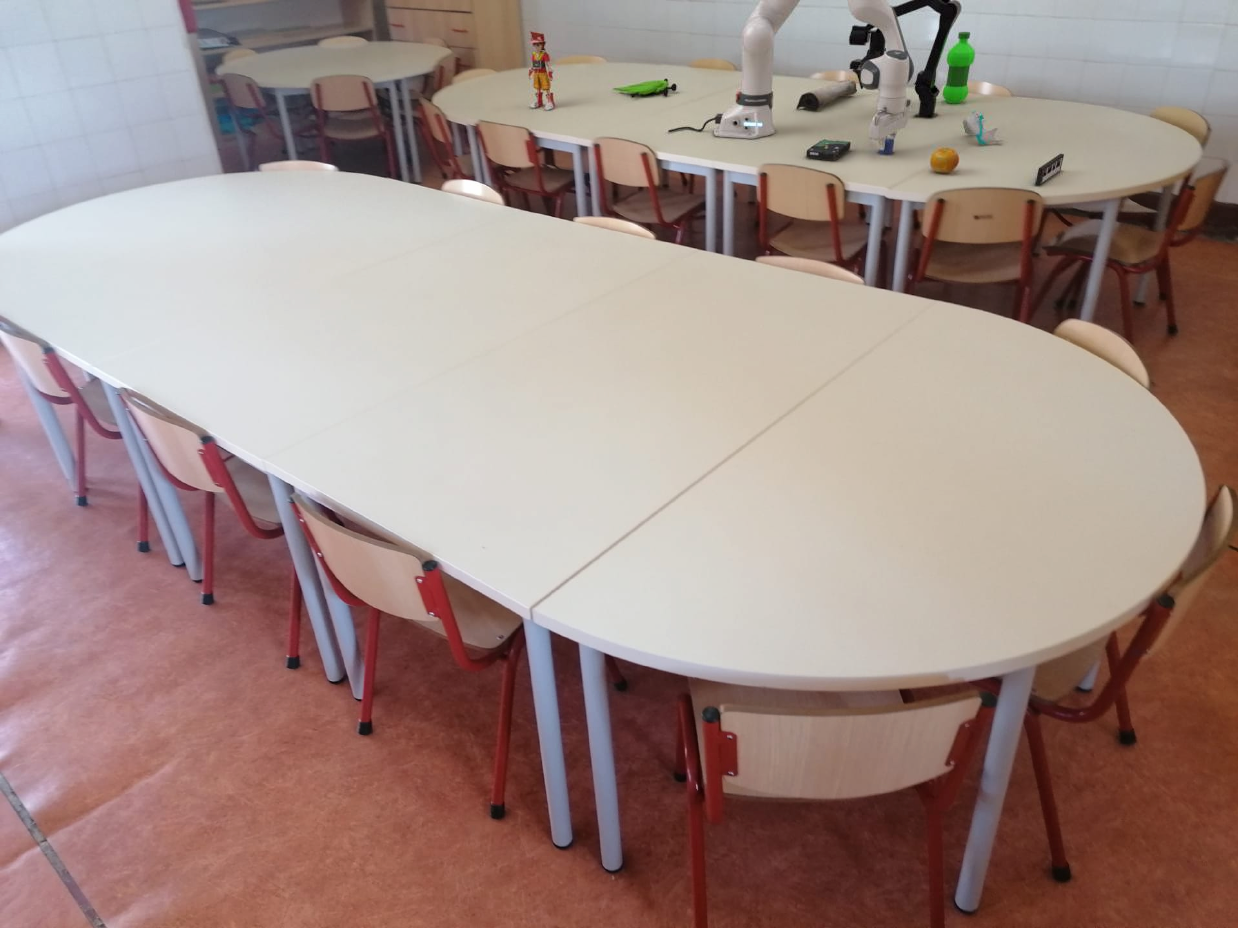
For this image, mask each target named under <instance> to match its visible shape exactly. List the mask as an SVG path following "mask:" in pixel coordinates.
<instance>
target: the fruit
mask: <svg viewBox="0 0 1238 928" xmlns="http://www.w3.org/2000/svg"><path fill="white" fill-rule="evenodd" d="M959 163H960V156H959V154H958V152H957V151H956V150H955V149H953V148H951V147H942V148H938V149H936V150H934V151H933V153H932V154H931V155H930V159H929V166H930V168H931V169H932V170H933V171H934V172H936V173H939V174H940V173H943V174H944V173H945V174H946V173H951V172H953V171H954V170H956V168H957V167H958V165H959Z"/></svg>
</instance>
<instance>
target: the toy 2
mask: <svg viewBox="0 0 1238 928" xmlns="http://www.w3.org/2000/svg"><path fill="white" fill-rule="evenodd" d="M669 85H670V83H669V79H668V78H664V79H663V80H649V81H644V82H640V83H634V84H629V85H627V86H621V87H613V88H612V89H613V90H616V91H619V92H623V93H627V94H628V93H629V94H631V95H630V96H631V98H632V99H634V98H636V96H637V95H650V94H652V93H654V94H658V93H662V95H663V96H665V97H667V96H668V95H669V90H671V91H672V92H676V91H677V84H676V83H672V84H671V86H669Z"/></svg>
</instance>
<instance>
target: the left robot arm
mask: <svg viewBox="0 0 1238 928" xmlns="http://www.w3.org/2000/svg"><path fill="white" fill-rule="evenodd" d="M800 1H801V0H760V1H759V3H758V4H757V5H756V7H755V9H754V10H753V12H752V13H751V15H750V16H749V18H747V21H746V22H745V25H744V27H743V31H742V34H741V90H737V91H736V92H735V103H734V104H733V105H732V106H730V107H729V108H727V110H726V111H724V113H716V115H715V116H714V117H713V118H712V117H711V118H710V119H708V120H706V121H705V122H704V123H703V125H702V127H701V128H694V127H692V126H680V127H676V128H671V129H668V130H667V131H668V133H672V132H676V131H681V130H691V131H695V132H702V131H704V130H705V128H706V126H707V124H708V123H711V122H713V121H714V124H715V125H717V126H715V128H714V130H713V135H714V136H715V137H721V138H722V137H723V138H736V139H737V138H738V139H750V140H753V139H754V140H755V139H758V138H761V137H766V136H770V135H773V134H774V133H775V132H776V131H775V127H774V120H773V107H774V91H773V77H774V76H773V75H774V49H775V48H774V47H775V46H774V45H775V37H776V35H777V33H778V32H779V30H780V29H781V28H782V27H783V25H784V24H785V22H786V21H787V19H788V18H789V17H790V15H791V14H792V13H793V12H794V10H795V9H796V7H797V6H798V4H799V2H800ZM847 5H848V10H849V12H850V14H851V15H852V16H853V18H855V20H857V21H859V22H861V23H863V24H864V23H865V24H871V25H873V26H875V27H874V28H876V27H877V28H878V29H880V31H881V32H882V33H883V35H884V38H885V46H886V49H887V50H886V51H885V52H884V55H883V56H881V57H878V58H875V59H871V60H868V61H866V62H865V63H864V64H863V66H862V68H861V71H860V81H861V84H862V86H863V89H865V90H868V91H875V90H876V91H878V96H877V105H876V110H877V111H876V113H875V115H874V116H873V117H872V120H871V124H870V129H869V139H870V140H873V141H877V142H878V151H879V150H884V149H885V148H886V144H885V139H886V138H887V137H888V139H893V140H894V141H895V139H896V137H897V135H898V132H899V131H900V130H902V129H904V128H905V127H906V126H907V124H908V120H909V114H910V106H911V105H912V99H911V98H907V90H906V89H907V85H908V84H909V83H910V81H911V80H912V78H913V76H914V72H915V65H914V61H913V60H912V57H911V55H910V53H909V51H908V49H907V44H906V42H905V39H904V35H903V31H902V28H901V25H900V22H899V21H900V20H899V19H898V18H899V17H897V15H896V13H895V10H894V9H893V7H892V5H890V4H889V2H888V0H847ZM877 28H876V29H877Z"/></svg>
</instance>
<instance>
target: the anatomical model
mask: <svg viewBox="0 0 1238 928" xmlns="http://www.w3.org/2000/svg"><path fill="white" fill-rule="evenodd" d="M984 117H985V116H984V114H981V112H979V111H977V110H974V111H972V114H971V116H968V117H964V119H963V120H962V125H963V129H964V133H965V134H966V135H969V136H973V135H974V136H975V138H976V140H977V142H978V143H979V144H980V145H982V146H985V145H988V144H991V143H992V144H993V143H997V144H998V143H1001V142H1002V141H1003V139H1002V138H998V137H996V136H995V133H996V132H997V131H998V130H999V127H996V126H995V127H993V128H991V129H989V130H988V129H987V128H985V126H984V122H985V121H986V120H985V118H984Z"/></svg>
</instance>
